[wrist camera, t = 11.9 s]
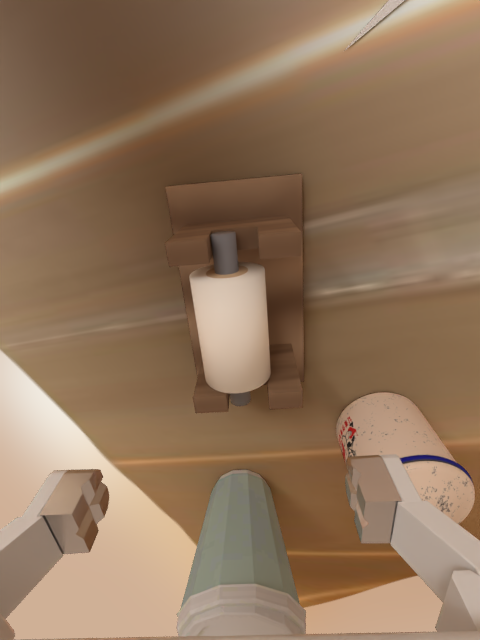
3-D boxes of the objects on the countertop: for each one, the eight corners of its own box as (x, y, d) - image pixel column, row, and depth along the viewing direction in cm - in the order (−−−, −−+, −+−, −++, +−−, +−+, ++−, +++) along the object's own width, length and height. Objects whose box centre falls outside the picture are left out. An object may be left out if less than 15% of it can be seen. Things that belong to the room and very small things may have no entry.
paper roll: (267, 224, 23) (197, 228, 24) (255, 240, 18) (170, 244, 19) (275, 382, 28) (218, 379, 29) (268, 423, 23) (201, 419, 25)
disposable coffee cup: (179, 488, 39) (142, 659, 25) (239, 437, 36) (234, 604, 22) (246, 528, 42) (245, 702, 28) (308, 484, 38) (341, 659, 25)
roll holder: (168, 186, 25) (135, 193, 18) (300, 173, 25) (321, 175, 17) (200, 381, 33) (186, 442, 25) (302, 375, 32) (318, 436, 25)
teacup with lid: (323, 402, 33) (358, 510, 23) (416, 377, 32) (499, 481, 21) (348, 481, 38) (387, 603, 27) (430, 463, 36) (504, 584, 26)
